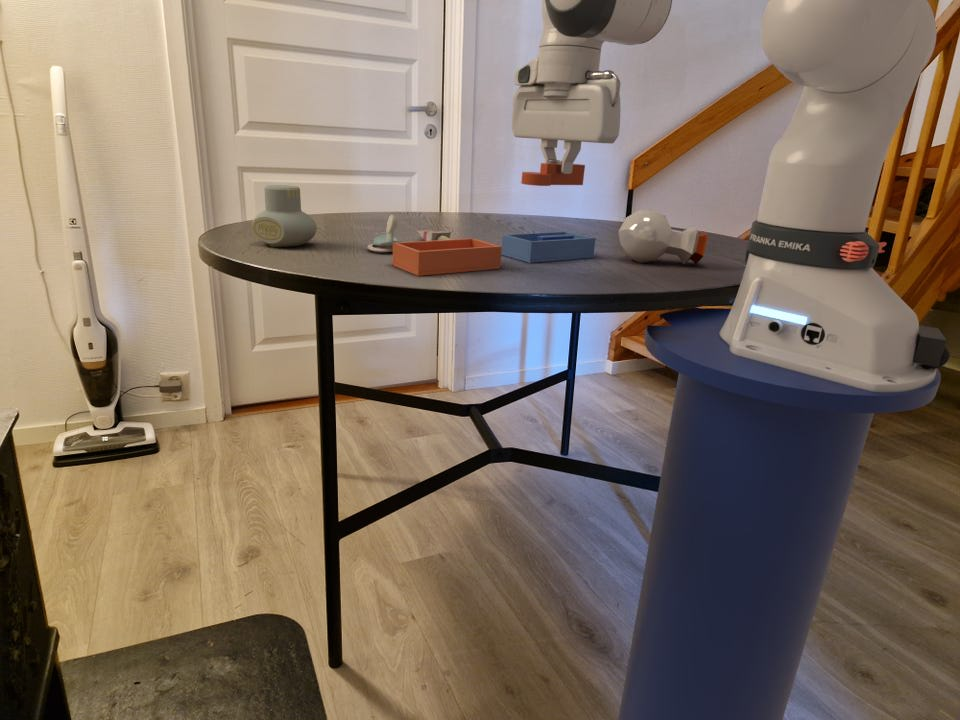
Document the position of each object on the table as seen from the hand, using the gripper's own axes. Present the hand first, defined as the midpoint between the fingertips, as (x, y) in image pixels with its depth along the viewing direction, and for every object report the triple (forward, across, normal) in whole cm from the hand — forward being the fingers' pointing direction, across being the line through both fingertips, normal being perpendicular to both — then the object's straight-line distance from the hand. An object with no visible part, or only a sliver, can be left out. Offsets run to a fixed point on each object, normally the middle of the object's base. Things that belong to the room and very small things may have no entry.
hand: (557, 172), depth 93 cm
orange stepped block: (+2, 0, +1) cm, 2 cm away
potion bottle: (+15, 0, -26) cm, 30 cm away
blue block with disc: (+15, +12, -10) cm, 21 cm away
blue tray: (+15, +12, -10) cm, 22 cm away
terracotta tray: (+15, +9, +13) cm, 22 cm away
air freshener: (+16, +36, +30) cm, 50 cm away
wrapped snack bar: (+16, +25, +4) cm, 30 cm away
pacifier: (+16, +25, +16) cm, 34 cm away
